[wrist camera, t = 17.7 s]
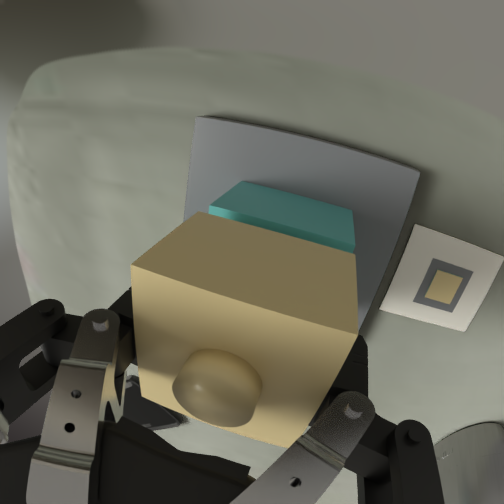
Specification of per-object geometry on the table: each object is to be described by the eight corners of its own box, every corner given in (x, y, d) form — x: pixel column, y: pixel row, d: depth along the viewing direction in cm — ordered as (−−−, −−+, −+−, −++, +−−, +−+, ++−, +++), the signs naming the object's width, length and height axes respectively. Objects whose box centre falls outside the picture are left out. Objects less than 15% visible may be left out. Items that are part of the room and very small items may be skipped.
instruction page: (504, 256, 15) (505, 258, 15) (464, 331, 18) (465, 332, 18) (414, 223, 16) (415, 224, 16) (379, 308, 19) (379, 310, 19)
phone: (81, 398, 35) (131, 378, 29) (85, 392, 36) (136, 370, 30) (122, 435, 37) (184, 426, 30) (126, 429, 38) (188, 418, 31)
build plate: (415, 168, 15) (425, 176, 13) (349, 338, 21) (348, 360, 19) (204, 115, 17) (187, 117, 15) (185, 289, 22) (171, 306, 21)
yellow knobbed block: (355, 254, 11) (358, 364, 6) (309, 367, 14) (286, 471, 9) (198, 211, 12) (109, 283, 7) (187, 328, 15) (129, 414, 10)
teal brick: (352, 210, 16) (356, 256, 11) (321, 303, 19) (310, 368, 14) (241, 180, 17) (199, 212, 12) (225, 275, 20) (188, 330, 15)
